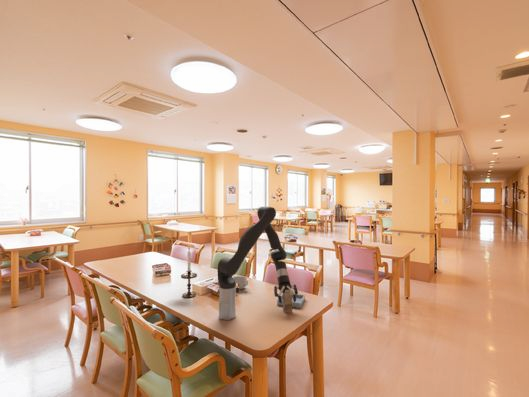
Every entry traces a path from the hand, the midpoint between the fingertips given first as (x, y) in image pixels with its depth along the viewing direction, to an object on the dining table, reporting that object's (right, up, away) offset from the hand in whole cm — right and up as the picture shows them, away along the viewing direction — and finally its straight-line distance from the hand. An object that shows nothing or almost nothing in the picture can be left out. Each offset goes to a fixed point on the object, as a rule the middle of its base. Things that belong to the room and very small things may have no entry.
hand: (287, 302), depth 158 cm
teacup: (-32, -6, +40) cm, 52 cm away
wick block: (0, -6, +1) cm, 6 cm away
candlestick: (-67, -6, +26) cm, 72 cm away
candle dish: (+4, -6, +15) cm, 16 cm away
